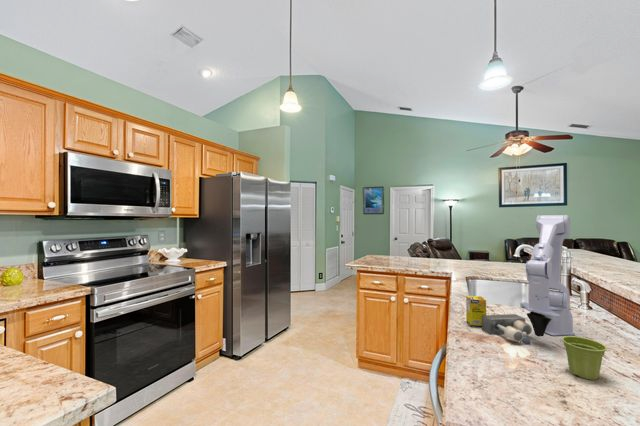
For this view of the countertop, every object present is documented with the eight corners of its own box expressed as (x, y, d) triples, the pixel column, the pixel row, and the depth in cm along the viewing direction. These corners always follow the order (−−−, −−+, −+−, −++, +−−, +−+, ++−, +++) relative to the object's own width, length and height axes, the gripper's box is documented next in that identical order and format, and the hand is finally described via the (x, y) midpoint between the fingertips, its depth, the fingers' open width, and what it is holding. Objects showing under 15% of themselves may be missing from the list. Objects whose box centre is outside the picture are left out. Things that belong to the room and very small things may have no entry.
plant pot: (596, 368, 86) (595, 338, 86) (615, 386, 77) (615, 352, 78) (556, 363, 89) (556, 334, 90) (571, 380, 81) (570, 347, 81)
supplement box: (486, 328, 118) (486, 300, 118) (470, 327, 119) (470, 299, 119) (481, 322, 124) (481, 296, 124) (466, 321, 125) (465, 295, 125)
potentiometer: (523, 340, 106) (522, 330, 106) (531, 343, 104) (531, 332, 104) (516, 342, 105) (516, 331, 105) (525, 345, 102) (525, 334, 102)
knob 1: (501, 330, 113) (501, 319, 113) (523, 342, 103) (523, 329, 103) (491, 330, 113) (491, 319, 113) (512, 342, 102) (512, 330, 102)
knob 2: (510, 324, 119) (510, 314, 119) (532, 335, 108) (532, 323, 108) (501, 325, 118) (501, 314, 118) (521, 335, 108) (521, 323, 108)
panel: (515, 328, 118) (515, 313, 118) (525, 332, 113) (525, 318, 113) (481, 329, 117) (481, 315, 117) (490, 334, 112) (490, 319, 112)
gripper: (512, 290, 110) (512, 328, 110) (546, 301, 95) (546, 345, 95) (530, 290, 110) (530, 327, 110) (566, 301, 96) (567, 344, 96)
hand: (539, 335), depth 103 cm, fingers closed
